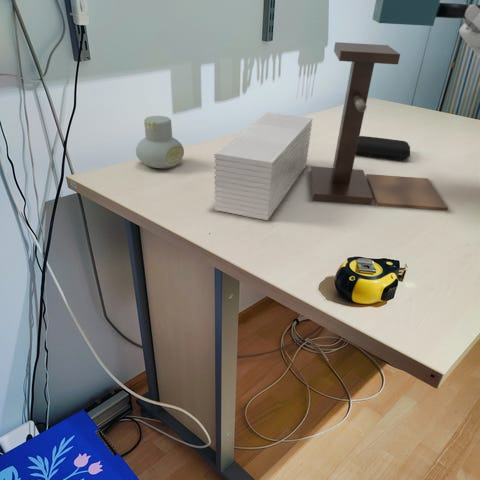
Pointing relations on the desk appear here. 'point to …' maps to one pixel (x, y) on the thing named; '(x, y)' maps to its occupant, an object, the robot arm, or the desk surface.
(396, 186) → the cork mat
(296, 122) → the stack of papers
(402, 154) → the carrying case
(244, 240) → the desk surface
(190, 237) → the desk surface
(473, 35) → the robot arm
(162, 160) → the air freshener
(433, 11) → the stamp
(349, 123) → the holder stand
